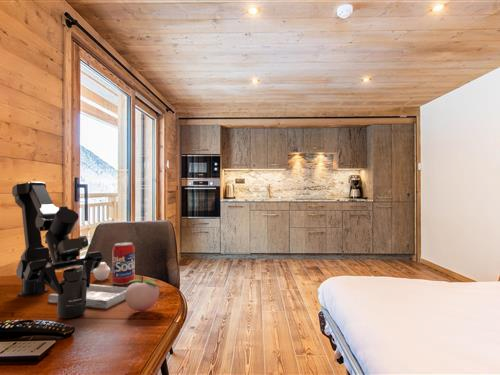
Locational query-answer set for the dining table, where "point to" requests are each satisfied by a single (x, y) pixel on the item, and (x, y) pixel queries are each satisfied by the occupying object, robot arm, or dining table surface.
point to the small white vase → (101, 271)
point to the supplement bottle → (72, 294)
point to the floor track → (99, 296)
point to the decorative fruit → (141, 294)
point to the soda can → (123, 263)
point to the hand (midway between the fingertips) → (75, 290)
